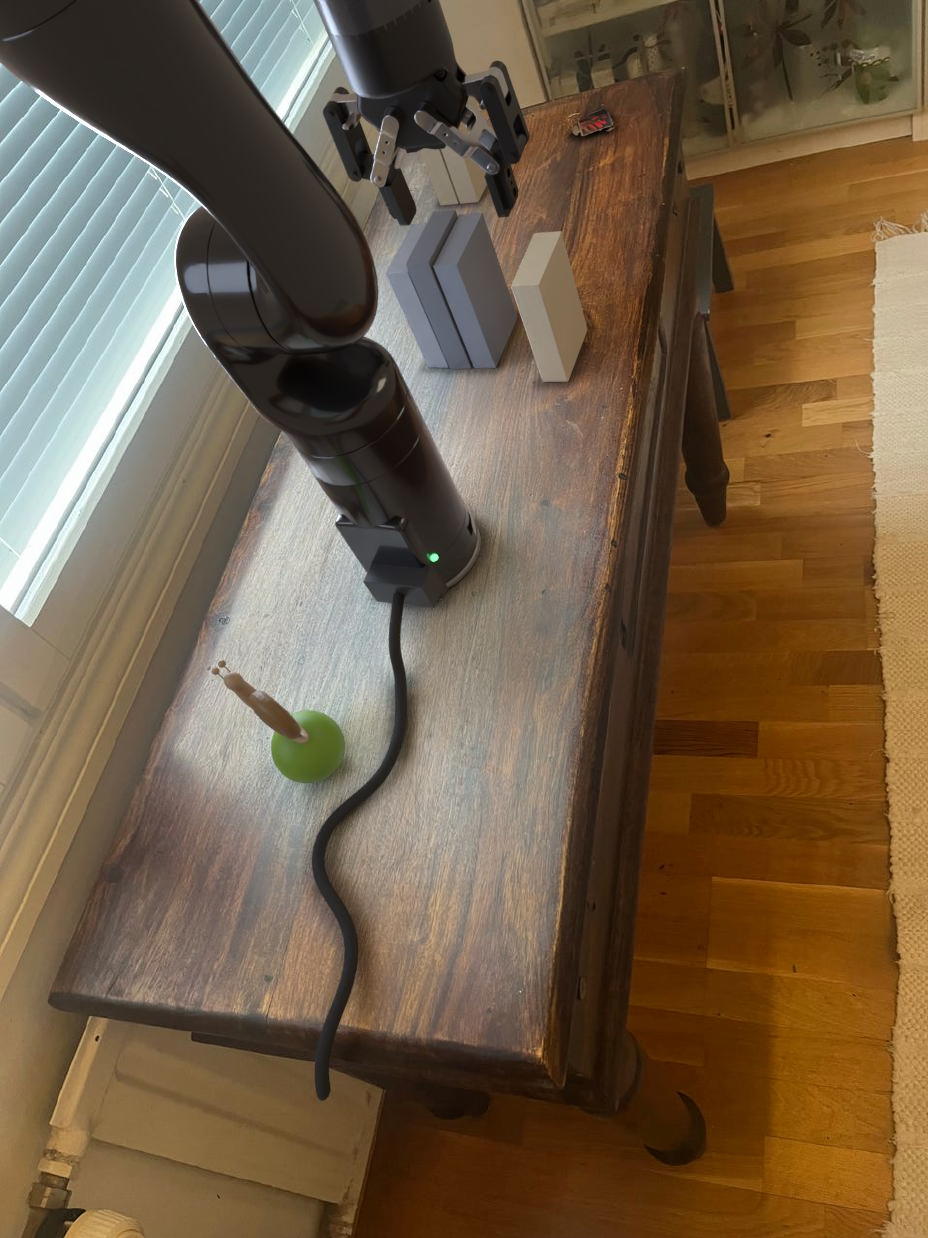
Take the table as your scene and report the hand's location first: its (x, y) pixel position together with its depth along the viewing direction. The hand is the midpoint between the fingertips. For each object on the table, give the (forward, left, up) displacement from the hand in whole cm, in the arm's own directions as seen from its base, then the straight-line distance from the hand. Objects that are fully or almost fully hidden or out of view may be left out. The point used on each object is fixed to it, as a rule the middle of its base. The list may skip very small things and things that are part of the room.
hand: (457, 214), depth 72 cm
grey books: (+7, +8, -19) cm, 22 cm away
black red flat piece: (+43, +5, -19) cm, 47 cm away
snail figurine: (-39, +5, -19) cm, 44 cm away
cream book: (+5, -3, -19) cm, 20 cm away
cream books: (+34, +18, -19) cm, 43 cm away
